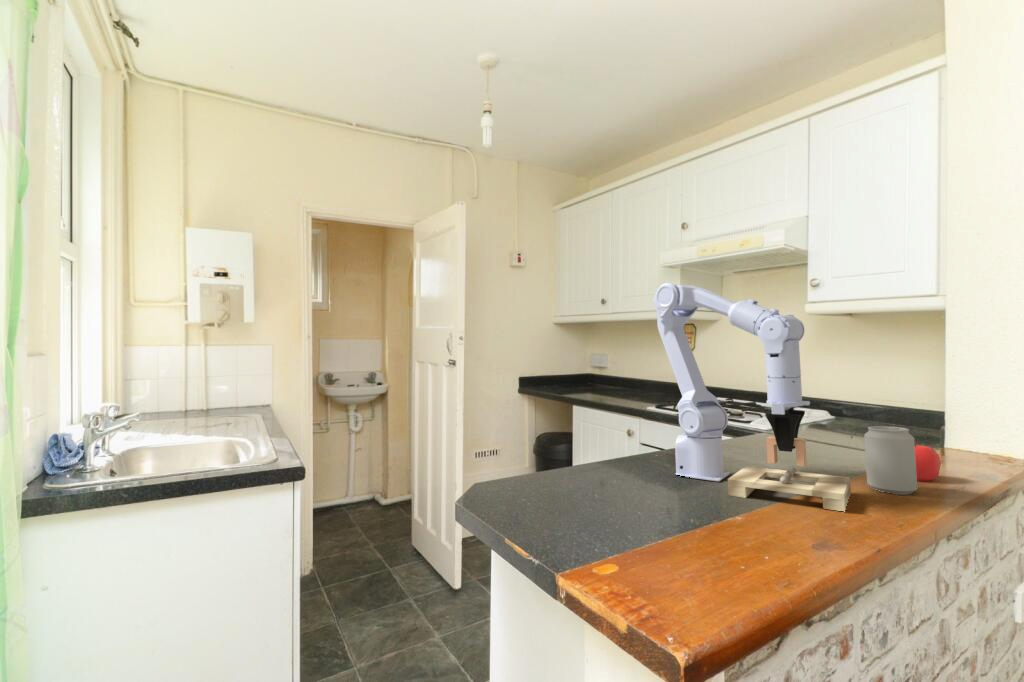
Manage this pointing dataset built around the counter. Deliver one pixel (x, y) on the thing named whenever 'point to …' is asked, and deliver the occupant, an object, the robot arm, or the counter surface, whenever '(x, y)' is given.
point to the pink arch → (798, 443)
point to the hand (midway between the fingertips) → (787, 449)
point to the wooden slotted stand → (792, 485)
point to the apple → (926, 463)
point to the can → (890, 460)
